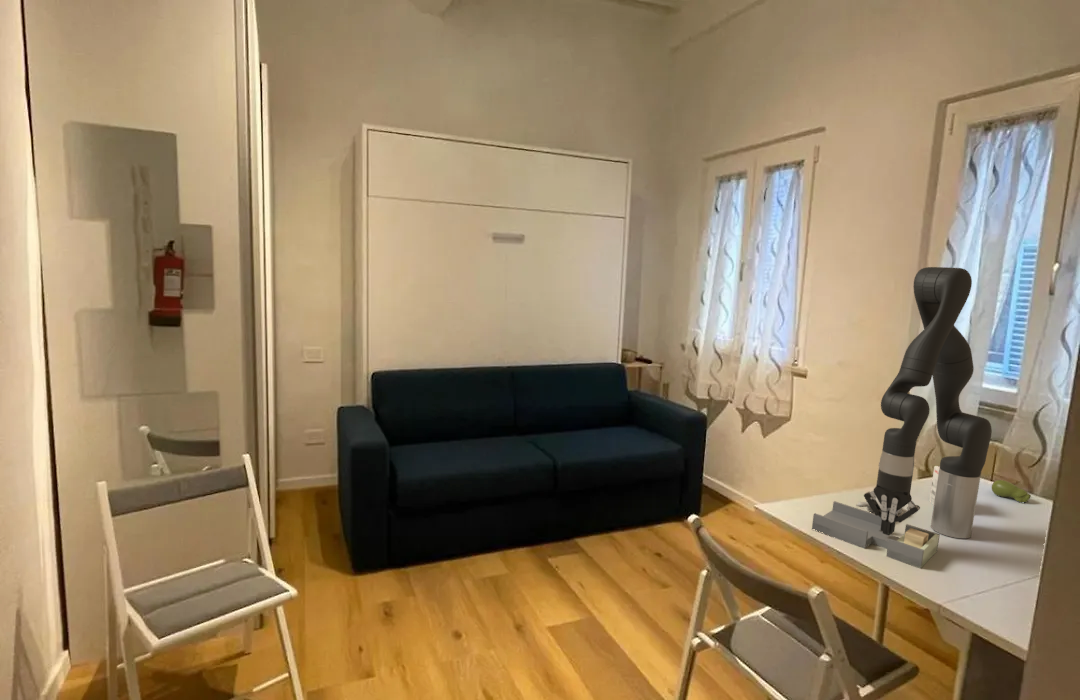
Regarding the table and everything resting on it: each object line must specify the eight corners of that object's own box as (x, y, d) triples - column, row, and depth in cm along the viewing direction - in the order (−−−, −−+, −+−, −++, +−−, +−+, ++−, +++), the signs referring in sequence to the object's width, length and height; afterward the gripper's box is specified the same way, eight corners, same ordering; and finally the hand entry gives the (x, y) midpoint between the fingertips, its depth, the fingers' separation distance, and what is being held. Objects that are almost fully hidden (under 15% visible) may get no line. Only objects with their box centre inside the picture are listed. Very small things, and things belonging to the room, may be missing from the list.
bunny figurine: (908, 499, 176) (889, 505, 166) (905, 516, 176) (885, 523, 167) (874, 489, 183) (854, 494, 173) (872, 505, 183) (850, 511, 174)
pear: (997, 475, 195) (1034, 490, 188) (991, 490, 196) (1028, 504, 189) (993, 479, 191) (1031, 494, 184) (987, 493, 193) (1024, 509, 186)
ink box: (959, 514, 176) (965, 476, 175) (940, 512, 177) (946, 474, 176) (945, 503, 185) (951, 466, 183) (928, 501, 186) (933, 465, 184)
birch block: (908, 542, 152) (910, 528, 152) (926, 548, 149) (928, 533, 149) (903, 547, 150) (905, 532, 149) (921, 553, 147) (923, 538, 146)
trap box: (832, 516, 172) (834, 501, 171) (937, 550, 153) (939, 534, 152) (811, 529, 162) (813, 513, 161) (920, 568, 143) (923, 550, 143)
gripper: (929, 474, 150) (919, 538, 152) (872, 459, 159) (864, 521, 162) (921, 480, 145) (911, 547, 147) (862, 465, 154) (854, 528, 157)
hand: (886, 533), depth 155 cm, fingers closed
